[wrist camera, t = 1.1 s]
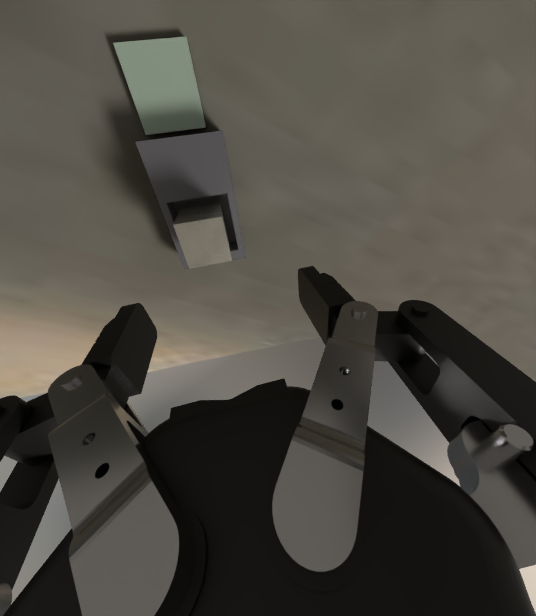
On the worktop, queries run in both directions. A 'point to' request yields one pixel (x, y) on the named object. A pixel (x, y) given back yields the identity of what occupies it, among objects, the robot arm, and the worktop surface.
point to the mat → (162, 84)
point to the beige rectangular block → (202, 234)
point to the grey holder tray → (192, 180)
